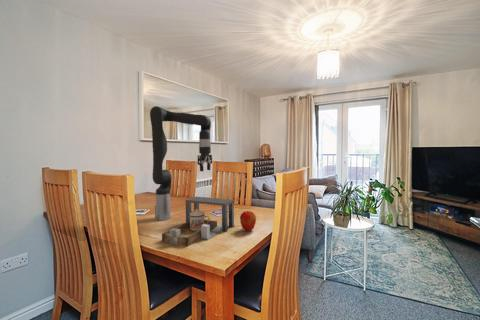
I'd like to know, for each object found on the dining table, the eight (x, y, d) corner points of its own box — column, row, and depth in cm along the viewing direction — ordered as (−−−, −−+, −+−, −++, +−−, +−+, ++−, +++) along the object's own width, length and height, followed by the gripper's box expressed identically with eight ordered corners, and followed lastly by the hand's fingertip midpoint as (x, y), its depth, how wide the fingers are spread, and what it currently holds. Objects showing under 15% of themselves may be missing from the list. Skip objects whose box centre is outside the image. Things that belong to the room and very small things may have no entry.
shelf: (186, 226, 143) (185, 199, 142) (196, 220, 153) (195, 196, 153) (225, 232, 132) (225, 203, 132) (233, 226, 142) (233, 199, 142)
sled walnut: (161, 242, 119) (160, 228, 118) (194, 224, 146) (194, 213, 146) (186, 247, 112) (186, 232, 112) (217, 227, 140) (216, 216, 140)
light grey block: (200, 238, 123) (200, 225, 122) (208, 233, 130) (208, 221, 130) (207, 240, 121) (207, 226, 121) (215, 234, 128) (215, 222, 128)
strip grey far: (210, 232, 132) (210, 230, 132) (219, 226, 142) (219, 224, 142) (217, 233, 131) (217, 231, 130) (226, 227, 141) (226, 225, 141)
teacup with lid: (189, 231, 133) (188, 211, 133) (189, 226, 142) (189, 207, 142) (210, 230, 135) (209, 210, 135) (209, 225, 144) (209, 206, 144)
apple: (245, 234, 128) (245, 213, 128) (237, 229, 136) (236, 209, 135) (259, 231, 133) (259, 210, 133) (250, 226, 141) (250, 207, 140)
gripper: (205, 146, 162) (206, 169, 163) (193, 146, 149) (194, 171, 150) (215, 146, 159) (215, 169, 159) (203, 146, 146) (204, 171, 146)
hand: (205, 170), depth 155 cm, fingers open, 8 cm apart
